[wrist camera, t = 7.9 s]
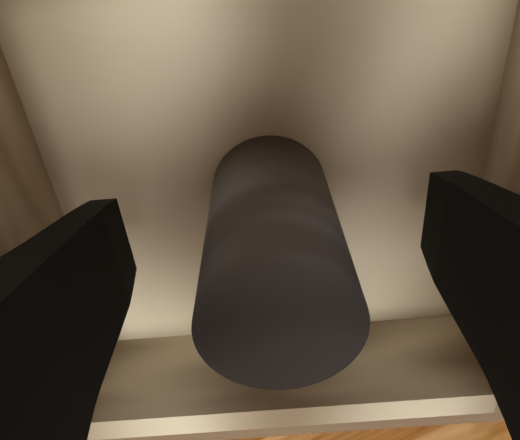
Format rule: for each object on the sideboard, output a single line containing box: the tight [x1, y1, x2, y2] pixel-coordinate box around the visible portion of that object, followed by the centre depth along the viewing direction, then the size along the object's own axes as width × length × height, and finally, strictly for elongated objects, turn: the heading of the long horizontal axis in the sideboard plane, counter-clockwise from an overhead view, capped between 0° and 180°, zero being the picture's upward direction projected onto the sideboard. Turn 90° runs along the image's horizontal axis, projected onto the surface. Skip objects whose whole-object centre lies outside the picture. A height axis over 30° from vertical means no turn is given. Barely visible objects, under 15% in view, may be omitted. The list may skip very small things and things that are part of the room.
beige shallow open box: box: [0, 0, 520, 440], centre depth 10 cm, size 13×12×6 cm
